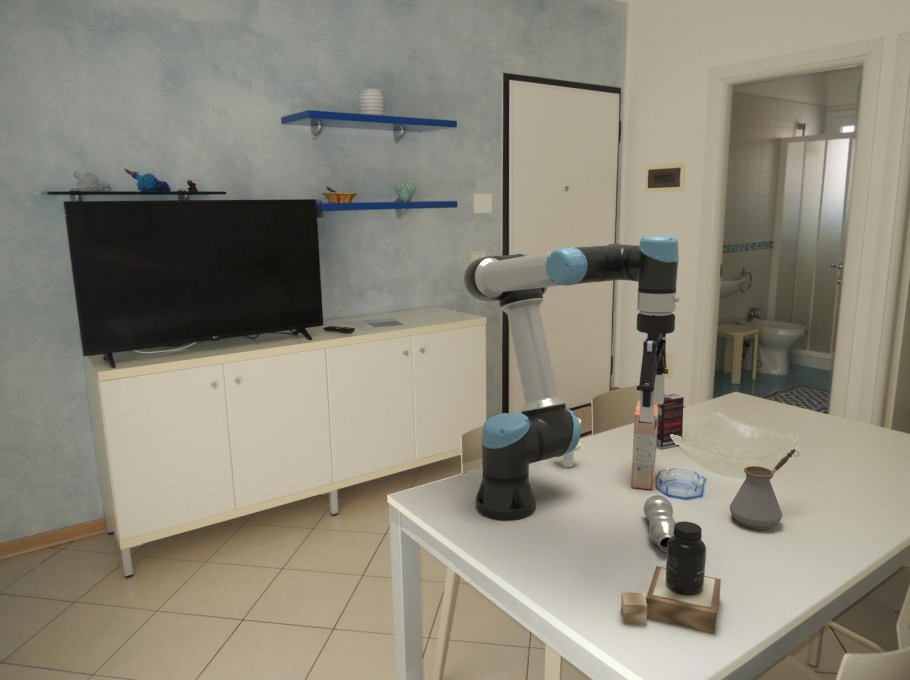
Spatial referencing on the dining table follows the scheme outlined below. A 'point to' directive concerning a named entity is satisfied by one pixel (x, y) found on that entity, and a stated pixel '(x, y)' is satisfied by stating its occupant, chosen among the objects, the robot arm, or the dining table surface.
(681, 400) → the supplement box
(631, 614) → the beech cube
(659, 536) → the plastic bottle
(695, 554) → the supplement bottle
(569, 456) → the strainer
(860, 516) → the dining table surface
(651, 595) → the base
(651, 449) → the cracker box
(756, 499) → the coffee pot
